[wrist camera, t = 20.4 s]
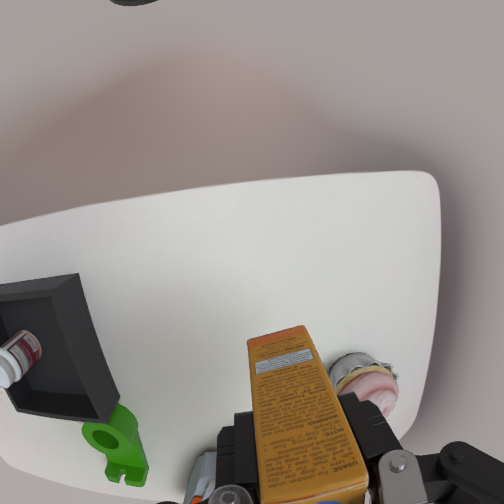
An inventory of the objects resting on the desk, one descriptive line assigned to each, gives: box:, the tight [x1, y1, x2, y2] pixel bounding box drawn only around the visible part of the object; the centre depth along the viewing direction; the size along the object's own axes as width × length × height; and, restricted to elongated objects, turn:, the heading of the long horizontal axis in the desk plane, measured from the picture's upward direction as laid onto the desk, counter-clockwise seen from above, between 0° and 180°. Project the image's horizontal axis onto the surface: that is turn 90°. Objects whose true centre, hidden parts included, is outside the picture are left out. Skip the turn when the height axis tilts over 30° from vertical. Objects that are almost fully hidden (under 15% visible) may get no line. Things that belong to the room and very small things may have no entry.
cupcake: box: [329, 353, 399, 419], centre depth 31 cm, size 9×9×10 cm
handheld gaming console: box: [183, 451, 217, 504], centre depth 35 cm, size 14×3×8 cm, turn 161°
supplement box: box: [247, 325, 369, 504], centre depth 11 cm, size 3×3×10 cm
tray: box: [0, 273, 120, 424], centre depth 30 cm, size 18×17×6 cm
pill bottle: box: [0, 330, 42, 388], centre depth 28 cm, size 5×5×8 cm
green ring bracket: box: [82, 403, 149, 487], centre depth 35 cm, size 15×7×5 cm, turn 178°
